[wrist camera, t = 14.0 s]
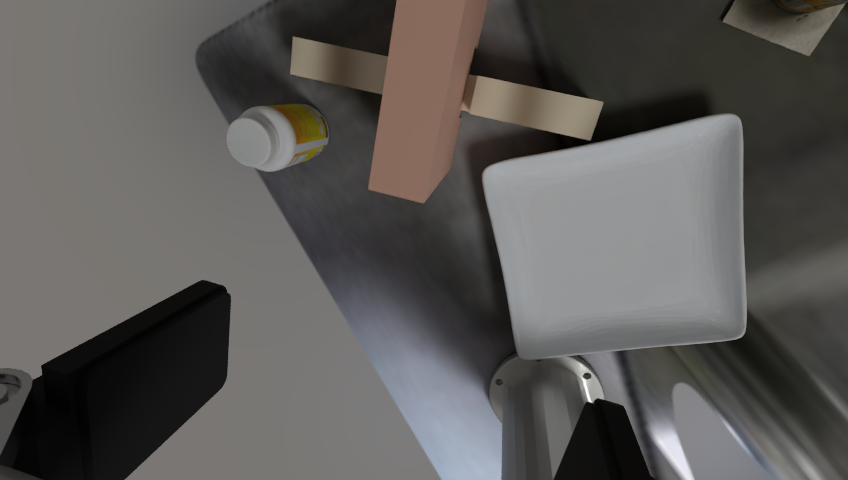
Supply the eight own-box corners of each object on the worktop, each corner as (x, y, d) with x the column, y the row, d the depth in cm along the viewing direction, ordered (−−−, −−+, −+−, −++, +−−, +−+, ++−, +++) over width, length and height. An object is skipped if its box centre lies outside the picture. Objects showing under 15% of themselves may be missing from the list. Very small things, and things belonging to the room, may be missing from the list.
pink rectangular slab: (450, 168, 41) (423, 203, 28) (411, 159, 41) (368, 189, 28) (491, -15, 35) (482, -79, 22) (445, -23, 35) (410, -91, 22)
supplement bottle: (289, 94, 41) (224, 94, 32) (338, 117, 41) (287, 124, 32) (275, 145, 43) (210, 159, 34) (321, 167, 43) (269, 188, 34)
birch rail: (591, 100, 36) (603, 102, 32) (580, 134, 37) (590, 140, 33) (318, 43, 39) (292, 36, 34) (315, 76, 40) (290, 74, 36)
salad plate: (724, 106, 35) (746, 107, 32) (731, 322, 41) (750, 342, 38) (479, 161, 40) (477, 166, 37) (517, 344, 46) (518, 363, 43)
